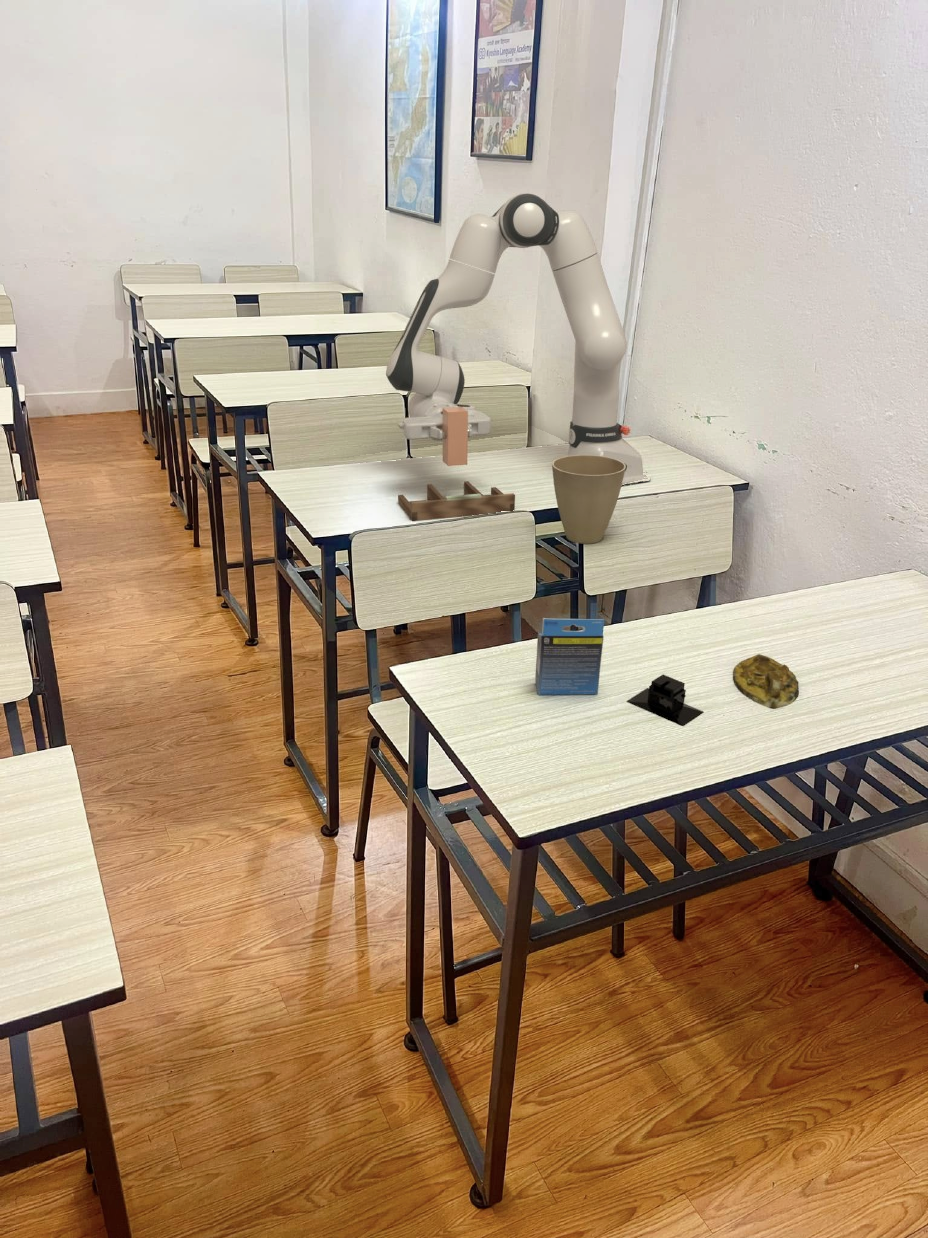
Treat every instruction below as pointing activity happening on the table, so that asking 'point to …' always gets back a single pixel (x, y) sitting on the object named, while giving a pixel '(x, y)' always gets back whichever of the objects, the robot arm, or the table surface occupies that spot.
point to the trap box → (457, 504)
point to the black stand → (666, 701)
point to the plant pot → (586, 494)
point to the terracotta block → (455, 436)
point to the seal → (766, 681)
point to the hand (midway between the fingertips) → (456, 434)
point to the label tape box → (569, 657)
